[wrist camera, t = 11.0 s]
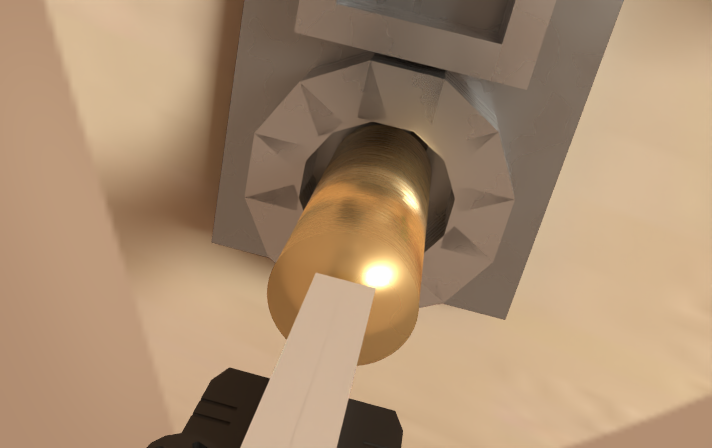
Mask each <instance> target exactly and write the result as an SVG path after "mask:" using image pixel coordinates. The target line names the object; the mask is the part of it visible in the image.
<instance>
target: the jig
mask: <svg viewBox="0 0 712 448" xmlns="http://www.w3.org/2000/svg"><path fill="white" fill-rule="evenodd" d="M623 1H624V0H244V7H243V14H242V21H241V29H240V36H239V44H238V51H237V58H236V66H235V73H234V81H233V88H232V95H231V103H230V110H229V118H228V125H227V132H226V140H225V147H224V155H223V162H222V169H221V177H220V184H219V192H218V199H217V206H216V214H215V221H214V229H213V236H212V243H215V244H219V245H223V246H227V247H230V248H234V249H238V250H242V251H246V252H249V253H253V254H257V255H261V256H265V257H268V258H270V259H271V260H273V261H274V262H275V263H276V262H277V260H278V258H279V256H280V254H281V252H282V250H283V249H284V247H285V245H286V243H287V241H288V239H289V237H290V235H291V234H292V232H293V230H294V228H295V226H296V224H297V222H298V220H299V218H300V217H301V215H302V213H303V211H304V209H305V207H306V205H307V203H308V202H309V200H310V198H311V196H312V194H313V192H314V190H315V188H316V187H317V185H318V183H319V181H320V179H321V177H322V175H323V173H324V171H325V170H326V168H327V166H328V164H329V162H330V160H331V158H332V156H333V155H334V153H335V151H336V149H337V147H338V146H339V144H340V143H341V142H342V141H343V140H344V139H345V138H346V137H347V136H348V135H349V134H351V133H352V132H354V131H356V130H358V129H360V128H363V127H366V126H370V125H389V126H393V127H396V128H399V129H402V130H404V131H406V132H407V133H409V134H410V135H412V136H413V137H414V138H415V139H416V140H417V141H418V142H419V143H420V144H421V145H422V147H423V148H424V150H425V152H426V153H427V156H428V158H429V161H430V165H431V185H430V196H429V206H428V217H427V227H426V238H425V248H424V259H423V269H422V280H421V290H420V301H419V308H421V307H426V306H431V305H436V304H441V303H443V304H447V305H450V306H454V307H458V308H462V309H466V310H469V311H473V312H477V313H481V314H485V315H488V316H492V317H496V318H500V319H503V320H505V319H506V316H507V314H508V311H509V308H510V305H511V303H512V300H513V297H514V295H515V292H516V289H517V287H518V284H519V281H520V278H521V276H522V273H523V270H524V268H525V265H526V262H527V260H528V257H529V254H530V252H531V249H532V246H533V243H534V241H535V238H536V235H537V233H538V230H539V227H540V225H541V222H542V219H543V216H544V214H545V211H546V208H547V206H548V203H549V200H550V198H551V195H552V192H553V190H554V187H555V184H556V181H557V179H558V176H559V173H560V171H561V168H562V165H563V163H564V160H565V157H566V154H567V152H568V149H569V146H570V144H571V141H572V138H573V136H574V133H575V130H576V128H577V125H578V122H579V119H580V117H581V114H582V111H583V109H584V106H585V103H586V101H587V98H588V95H589V93H590V90H591V87H592V84H593V82H594V79H595V76H596V74H597V71H598V68H599V66H600V63H601V60H602V57H603V55H604V52H605V49H606V47H607V44H608V41H609V39H610V36H611V33H612V31H613V28H614V25H615V22H616V20H617V17H618V14H619V12H620V9H621V6H622V4H623Z"/></svg>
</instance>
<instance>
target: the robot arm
mask: <svg viewBox="0 0 712 448" xmlns="http://www.w3.org/2000/svg"><path fill="white" fill-rule="evenodd" d="M375 289H376V288H372V287H368V286H365V285H361V284H357V283H353V282H350V281H346V280H342V279H338V278H334V277H331V276H327V275H323V274H319V273H315V276H314V278H313V280H312V283H311V285H310V287H309V290H308V292H307V294H306V297H305V299H304V301H303V304H302V306H301V308H300V311H299V313H298V315H297V318H296V320H295V322H294V324H293V327H292V329H291V331H290V334H289V336H288V338H287V341H286V343H285V345H284V348H283V350H282V352H281V355H280V357H279V359H278V362H277V364H276V366H275V368H274V371H273V373H272V375H271V378H266V377H262V376H259V375H255V374H251V373H248V372H244V371H240V370H237V369H233V368H228V369H227V370H225V371H224V372H222V373H221V374H219V375H218V376H217V377H215V378H214V379H212V380H211V382H210V383H209V385H208V387H207V389H206V391H205V392H204V394H203V396H202V398H201V401H199V403H198V405H197V407H196V408H195V410H194V412H193V415H192V416H191V417H190V419H189V421H188V423H187V424H186V426H185V428H184V430H183V432H182V433H180V434H173V435H167V436H164V437H162V438H160V439H158V440H156V441H154V442H152V443H151V444H150V445H149V446H148V447H147V448H401V443H402V435H403V430H402V427H401V425H400V422H399V419H398V417H397V414H396V412H395V411H393V410H390V409H386V408H382V407H379V406H375V405H371V404H367V403H364V402H360V401H356V400H353V399H349V395H350V391H351V387H352V383H353V379H354V375H355V371H356V366H357V362H358V358H359V354H360V350H361V346H362V342H363V338H364V334H365V330H366V326H367V322H368V318H369V314H370V309H371V305H372V301H373V297H374V293H375Z"/></svg>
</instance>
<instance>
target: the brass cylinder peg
mask: <svg viewBox="0 0 712 448" xmlns="http://www.w3.org/2000/svg"><path fill="white" fill-rule="evenodd" d="M430 185H431V165H430V161H429V158H428V156H427V153H426V152H425V150H424V148H423V147H422V145H421V144H420V143H419V142H418V141H417V140H416V139H415V138H414V137H413V136H412V135H410V134H409V133H407V132H406V131H404V130H402V129H399V128H396V127H393V126H389V125H370V126H366V127H363V128H360V129H358V130H356V131H354V132H352V133H351V134H349V135H348V136H347V137H346V138H345V139H344V140H343V141H342V142H341V143H340V144H339V146H338V147H337V149H336V151H335V153H334V155H333V156H332V158H331V160H330V162H329V164H328V166H327V168H326V170H325V171H324V173H323V175H322V177H321V179H320V181H319V183H318V185H317V187H316V188H315V190H314V192H313V194H312V196H311V198H310V200H309V202H308V203H307V205H306V207H305V209H304V211H303V213H302V215H301V217H300V218H299V220H298V222H297V224H296V226H295V228H294V230H293V232H292V234H291V235H290V237H289V239H288V241H287V243H286V245H285V247H284V249H283V250H282V252H281V254H280V256H279V258H278V260H277V262H276V264H275V265H274V267H273V270H272V272H271V274H270V277H269V282H268V288H267V299H268V306H269V310H270V313H271V316H272V319H273V321H274V322H275V324H276V326H277V328H278V329H279V331H280V332H281V334H282V335H283V336H284V337H285V338H286V339H287V338H288V336H289V334H290V331H291V329H292V327H293V324H294V322H295V320H296V318H297V315H298V313H299V311H300V308H301V306H302V304H303V301H304V299H305V297H306V294H307V292H308V290H309V287H310V285H311V283H312V280H313V278H314V276H315V273H319V274H323V275H327V276H331V277H334V278H338V279H342V280H346V281H350V282H353V283H357V284H361V285H365V286H368V287H372V288H376V289H375V293H374V297H373V301H372V305H371V309H370V314H369V318H368V322H367V326H366V330H365V334H364V338H363V342H362V346H361V350H360V354H359V358H358V362H357V366H359V365H366V364H370V363H374V362H377V361H379V360H382V359H384V358H386V357H387V356H389V355H391V354H392V353H394V352H395V351H396V350H398V349H399V348H400V347H401V346H402V345H403V344H404V343H405V342H406V340H407V339H408V338H409V336H410V335H411V333H412V331H413V329H414V327H415V324H416V321H417V317H418V311H419V301H420V290H421V280H422V269H423V259H424V248H425V238H426V227H427V217H428V206H429V196H430Z"/></svg>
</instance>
